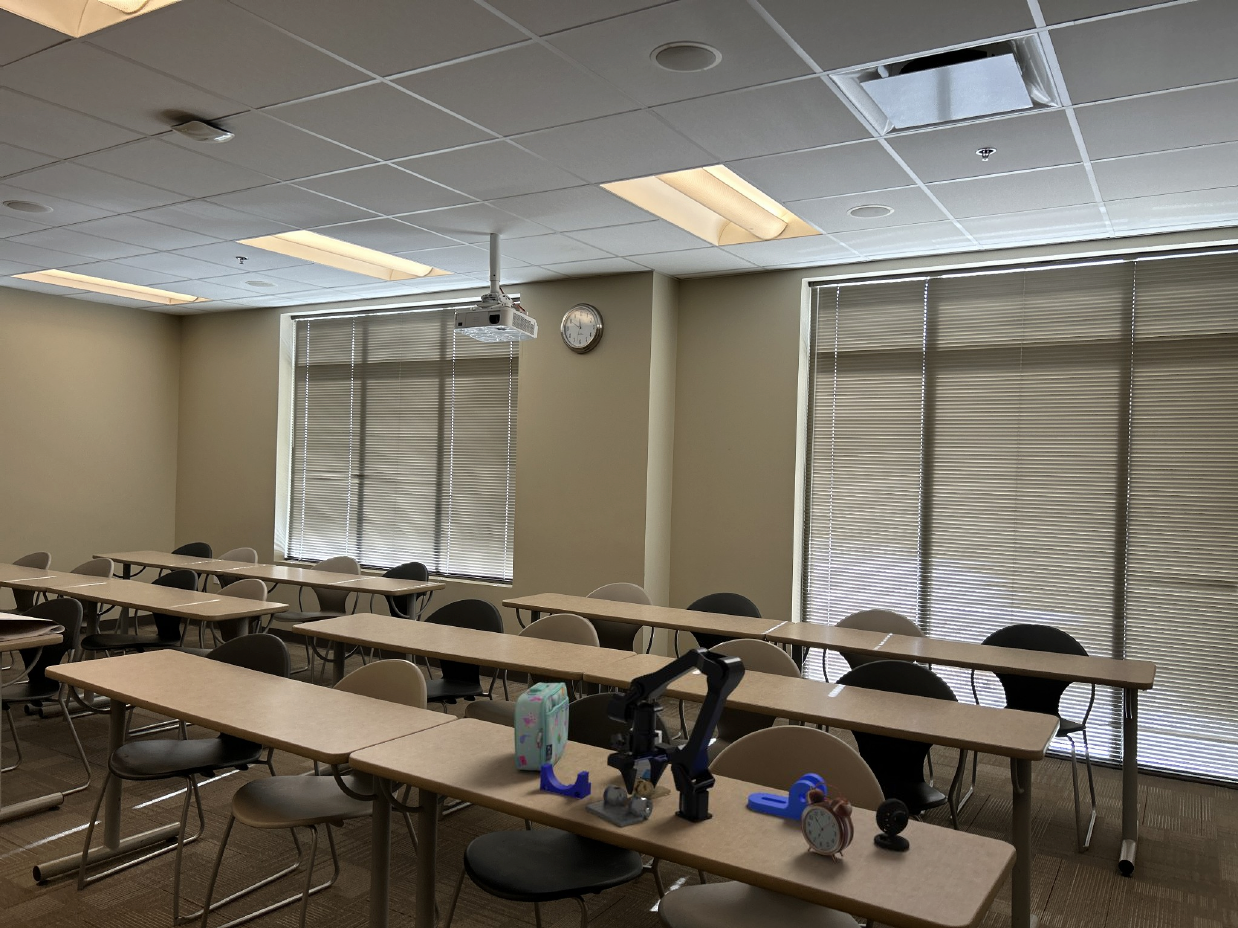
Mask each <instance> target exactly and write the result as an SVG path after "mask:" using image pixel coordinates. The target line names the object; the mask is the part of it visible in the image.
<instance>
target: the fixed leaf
mask: <svg viewBox="0 0 1238 928" xmlns="http://www.w3.org/2000/svg"><path fill="white" fill-rule="evenodd" d="M602 799H603V800H600V801H596V802H594V803H589V804H586V805H584V811H587V812H589V813H591V814H594V815H595V816H597V817H599V818H602V819H604V820H606V821H608V822H610V823H612V824H614V825H616V826H618V827H621V828H623V827H627V826H630V825H634V824H637V823H640V822H643V821H645V820H648V819H649V817H650V816H651V815H652V812H653V809H654V808H653V806H654V805H653V802H652V801H651V799H646V798H643V797H641V796H639V795H635V796H632V797H631V798H630V799H629V801H628V793H627V790H626V789H624V788H622V787H619V786H617V785H615V784H609V785H607V786H606V787H605V789H604V791H603V795H602ZM627 801H628V804H627V808H625V807H624V806H625V805H626V803H627Z"/></svg>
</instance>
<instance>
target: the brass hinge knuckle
mask: <svg viewBox="0 0 1238 928" xmlns="http://www.w3.org/2000/svg"><path fill="white" fill-rule="evenodd" d="M669 793H672V792H671V789H669V788H667V787H664V786H663V785H656V787H655V789H654V788H653V784H652V783H651V782H650V780H647V779H645V778H639V777H636V779H635V784H634V788H633V792H632V795H631V796H632V797H633V796H635V795H639V796H641V797H643V798H646V799H648V800H652V799H651V798H653V799H656V798H655V797H657V798H660V797H659V796H661V795H664V796H666V795H665V794H668V795H670V794H669ZM661 797H662V796H661Z"/></svg>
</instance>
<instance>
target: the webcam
mask: <svg viewBox="0 0 1238 928" xmlns="http://www.w3.org/2000/svg"><path fill="white" fill-rule="evenodd" d="M909 818H910V814H909V809H908V807H907V806H906V804H905V803H904V802H903V801H902V800H899V799H897V798H888V799H886V800H883V801H882V802H881V803H880V804H879V805H878V807H877V809H876V812H875V822H876V825H877V827H878V829H879V830H880V831H881V833H878V834H876V835H875V836H874V837H873V842H874V844H875V845H876V846H877V847H879V848H880V849H884V850H887V851H892V852H904V850H905V851H906V850H908V849H909V848H910V846H911V845H910V841H909V840H908V839H907V838H905V837H904V836H902V835H899V834H901V833H902V832H903V831H904V830H905V829H906V828H907V826H908V824H909V820H910V819H909ZM886 841H888V842H886Z"/></svg>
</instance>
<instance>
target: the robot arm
mask: <svg viewBox="0 0 1238 928" xmlns="http://www.w3.org/2000/svg"><path fill="white" fill-rule="evenodd" d="M695 669H697V670H698V671H699V672H700V673H701V674H702V675H704V676H706V680H705V681H706V685H707V687H706V688H707V690H706V691H707V692H706V695H705V697H704V699H703V702H702V705H701V707H700V709H699V713H698V714H697V718H696V720H695V722H694V725H693V727H692V730H691V732H690V736H689V738H688V741H687V743H684V744H680V745H677V746H674V745H671V744H668V743H664V742H662V741H661V743H658V744H655V738H656V737H659V733H658V732H655V730H656V726H657V725H656V723H657V722H656V721H657V713H660V712H663V711H664V710H665V709H664V707H663V706H662V705H661V704H660V703H659V701H658V700H655V701H652V702H650V701H649V702H647V701H648V700H653V699H657V698H659V697H660V696H661V695H662V694H663V693H664V692H665V691H666V690H667V688H668V686H670V685H671V684H672V683H673V682H675V681H677V680H679V679H680V678H682V677H684V676H685V675H687V674H689V673H690V672H692V671H695ZM745 675H746V667H745V665H744V662H743V661H742V659H741V658H739V656H735V655H731V656H730V655H727V654H724V653H719V652H716V651H713V650H709V649H708V648H705V647H695V648H691V649H689V650H688V651H687V652H686V653H685V654H683V655H681V656H680V657H678V658H676V659H674V660H673V661H670V663H667V664H666V665H665V666H662V667H661V668H659V669H658V670H656V671H654V672H649V673H647V674H643V675H640V676H637V677H634V678H633V679H632V680H630V685H629V688H628V689H627V691H625V693H623V692H619V691H616V692H612V697H611V698H610V700H609V701H608V703H607V706H606V716H607V718H609V719H611V720H614V721H618V722H621V723H624V724H632V728H631V729H632V730H631V729H629V730H628V732H627V735H625V736H622V734H621V733H616V734H611V737H610V745H611V747H612V749H616V752H612V753H609V754H608V755H607V759H606V763H607V764H606V765H607V767H611V768H613V769H616V770H618V771H619V772H620V774H621V777H622V780H623V782H624V786H625V790H626V792H627V795H629V796H632V792H633V788H634V784H635V779H636V774H637V769H635V768H634V766H635V762H637V761H641V760H646V759H648V761H649V763H650V779H649V782H651V783H652V784H653V788H654V789H655V787H656V786H658V783H659V781H660V779H661V777H662V775H663V774H664V772H665V771H666V769H667V767H668V766H669V765H670V772H671V774H672V778H673V783H674V786H675V787H674V788H675V791H677V792H679V797H678V799H679V800H678V810H676V811H675V812H674V815H676V816H679V817H681V818H683V819H686V820H687V821H690V822H691V823H696V822H699V821H700V822H701V821H703V820H707V819H709V818H710V819H711V818H713V813H711V812H709V800H710V798H709V797H710V796H709V795H710V791H709V789H712V788H714V786H715V783H716V778H715V776H714V775H713V773H712V772H711V770H710V769H709V766H708V764H709V759H710V758H709V752H708V749H709V748H708V747H709V746H710V743H711V740H712V738H713V735H714V733H715V731H716V729H717V725H718V723H719V720H720V719H721V716H722V712H723V711H724V708H725V705H726V703H727V700H728V698H729V696H730V695H731V694H732V693H733V692H734V691H735V690H736V688H737V687H738V686H739V685H740V683H741V681H742V680H743V678H744V676H745ZM639 702H640V703H639ZM621 750H625V752H623V751H621ZM627 752H631V753H632V754H630V755H629V754H627Z"/></svg>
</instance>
